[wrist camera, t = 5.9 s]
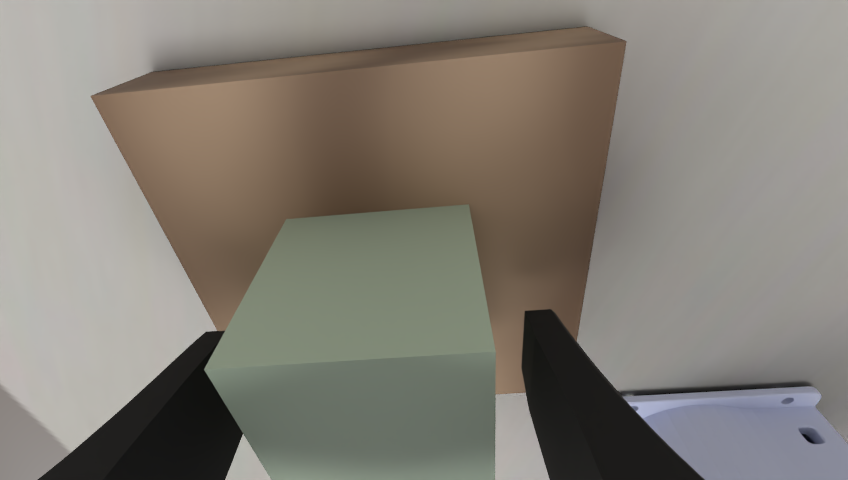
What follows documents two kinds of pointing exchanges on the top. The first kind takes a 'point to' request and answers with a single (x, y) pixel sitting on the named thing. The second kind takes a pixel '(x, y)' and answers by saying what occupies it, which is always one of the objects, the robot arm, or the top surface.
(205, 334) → the robot arm
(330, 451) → the green cube
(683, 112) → the top surface
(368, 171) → the walnut base
